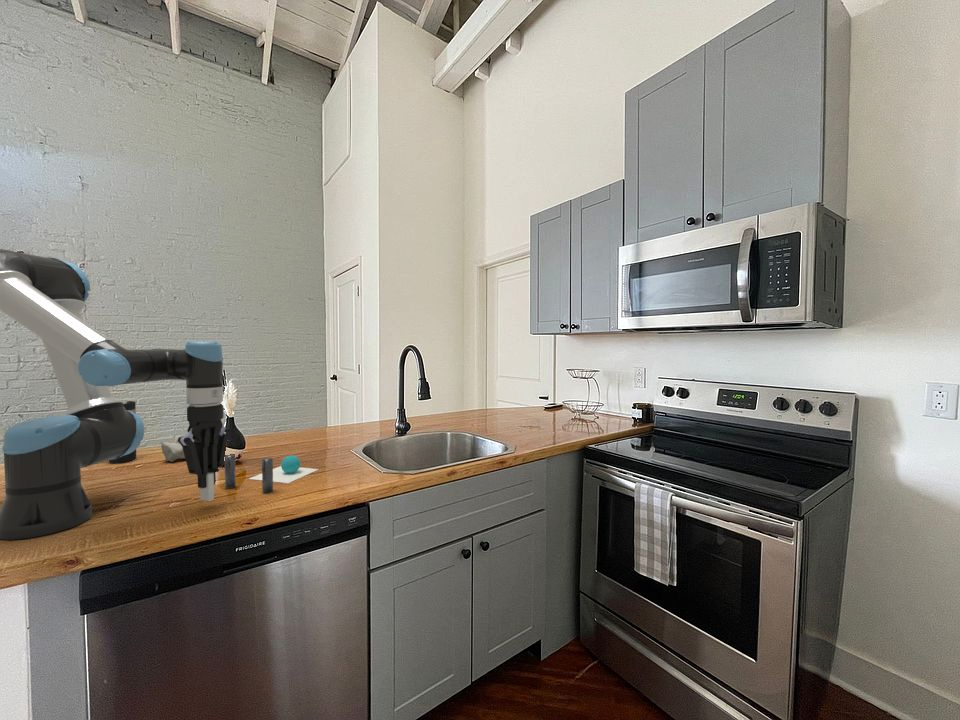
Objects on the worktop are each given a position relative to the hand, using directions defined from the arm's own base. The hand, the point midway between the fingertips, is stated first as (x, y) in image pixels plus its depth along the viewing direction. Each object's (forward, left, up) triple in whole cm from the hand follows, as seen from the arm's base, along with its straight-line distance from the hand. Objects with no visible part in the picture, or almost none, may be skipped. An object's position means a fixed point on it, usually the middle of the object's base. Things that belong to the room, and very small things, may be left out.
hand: (207, 499), depth 105 cm
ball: (+28, -1, +1) cm, 29 cm away
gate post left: (+13, +6, -2) cm, 15 cm away
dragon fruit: (+30, +27, -2) cm, 40 cm away
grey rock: (+32, +45, -2) cm, 55 cm away
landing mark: (+27, 0, -2) cm, 27 cm away
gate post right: (+13, -6, -2) cm, 15 cm away
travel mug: (+24, +63, -2) cm, 67 cm away
